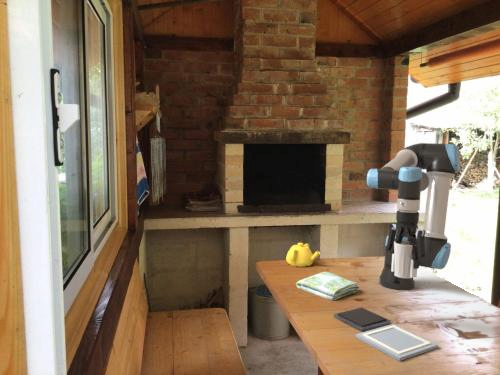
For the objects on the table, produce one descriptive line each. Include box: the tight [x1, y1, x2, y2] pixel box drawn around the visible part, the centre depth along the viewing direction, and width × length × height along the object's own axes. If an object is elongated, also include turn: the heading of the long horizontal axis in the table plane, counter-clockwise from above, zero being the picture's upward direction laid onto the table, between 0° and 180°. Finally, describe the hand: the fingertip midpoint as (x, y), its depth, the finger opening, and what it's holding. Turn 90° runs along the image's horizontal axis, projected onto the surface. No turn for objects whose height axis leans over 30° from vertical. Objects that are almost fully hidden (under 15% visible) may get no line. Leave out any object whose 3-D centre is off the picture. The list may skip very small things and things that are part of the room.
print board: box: [354, 323, 439, 362], centre depth 144 cm, size 18×18×1 cm
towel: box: [295, 271, 360, 301], centre depth 193 cm, size 18×21×5 cm
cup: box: [394, 240, 416, 278], centre depth 159 cm, size 8×8×12 cm
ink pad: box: [333, 307, 392, 333], centre depth 161 cm, size 14×14×2 cm
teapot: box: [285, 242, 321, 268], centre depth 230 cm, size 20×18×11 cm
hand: (403, 273), depth 160 cm, fingers closed on cup, 7 cm apart
